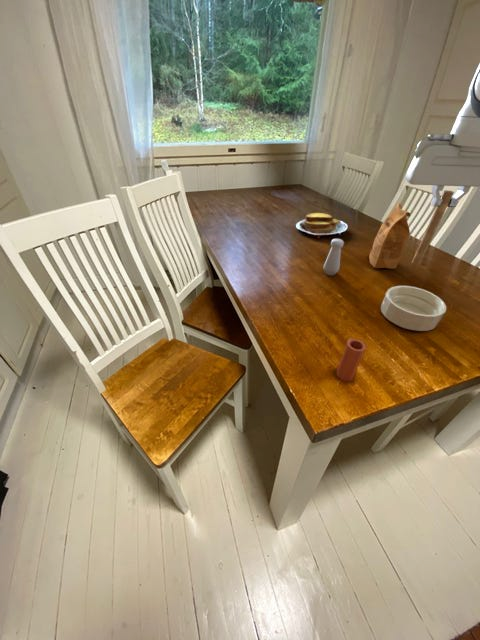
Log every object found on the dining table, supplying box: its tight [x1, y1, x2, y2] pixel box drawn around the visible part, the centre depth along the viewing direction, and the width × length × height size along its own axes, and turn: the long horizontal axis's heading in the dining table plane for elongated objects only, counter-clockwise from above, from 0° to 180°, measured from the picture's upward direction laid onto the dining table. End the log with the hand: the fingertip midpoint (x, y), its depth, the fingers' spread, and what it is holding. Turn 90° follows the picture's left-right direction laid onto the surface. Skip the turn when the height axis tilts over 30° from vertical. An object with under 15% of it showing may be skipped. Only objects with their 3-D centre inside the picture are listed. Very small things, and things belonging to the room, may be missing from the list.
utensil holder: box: [336, 338, 367, 382], centre depth 62 cm, size 4×4×10 cm
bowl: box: [380, 285, 447, 332], centre depth 81 cm, size 16×16×6 cm
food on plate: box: [295, 212, 349, 239], centre depth 136 cm, size 25×25×7 cm
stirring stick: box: [411, 189, 455, 266], centre depth 67 cm, size 2×2×18 cm
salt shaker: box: [323, 238, 345, 276], centre depth 99 cm, size 6×6×13 cm
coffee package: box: [368, 203, 411, 270], centre depth 103 cm, size 10×12×22 cm
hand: (442, 206), depth 64 cm, fingers closed on stirring stick, 2 cm apart
